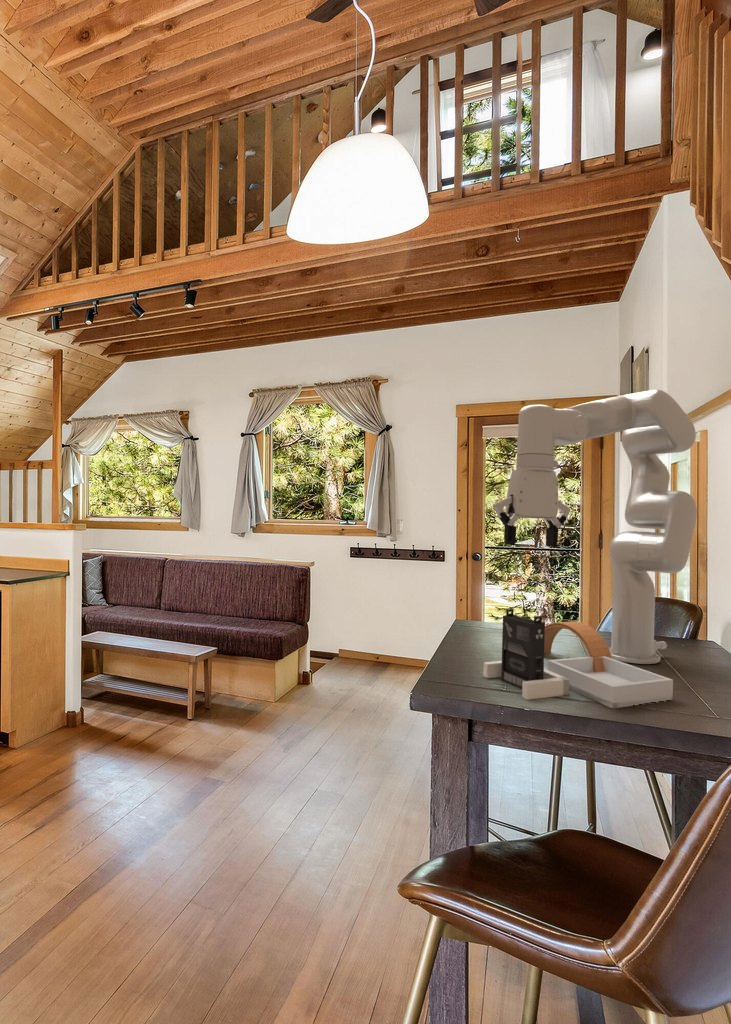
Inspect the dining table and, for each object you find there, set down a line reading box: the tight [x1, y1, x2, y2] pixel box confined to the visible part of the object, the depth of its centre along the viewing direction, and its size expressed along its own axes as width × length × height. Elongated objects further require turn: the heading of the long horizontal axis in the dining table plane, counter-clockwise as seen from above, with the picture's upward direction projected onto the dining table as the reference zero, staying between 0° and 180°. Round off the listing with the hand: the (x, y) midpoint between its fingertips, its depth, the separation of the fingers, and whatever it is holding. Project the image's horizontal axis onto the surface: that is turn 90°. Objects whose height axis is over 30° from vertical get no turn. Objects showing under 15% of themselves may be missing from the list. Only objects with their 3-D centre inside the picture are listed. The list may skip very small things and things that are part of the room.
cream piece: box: [482, 660, 570, 701], centre depth 111 cm, size 10×15×3 cm, turn 21°
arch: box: [544, 620, 612, 672], centre depth 128 cm, size 6×20×10 cm, turn 25°
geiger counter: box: [500, 608, 546, 690], centre depth 111 cm, size 10×4×15 cm, turn 28°
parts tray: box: [546, 655, 674, 710], centre depth 110 cm, size 15×18×4 cm
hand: (530, 545), depth 113 cm, fingers open, 9 cm apart
